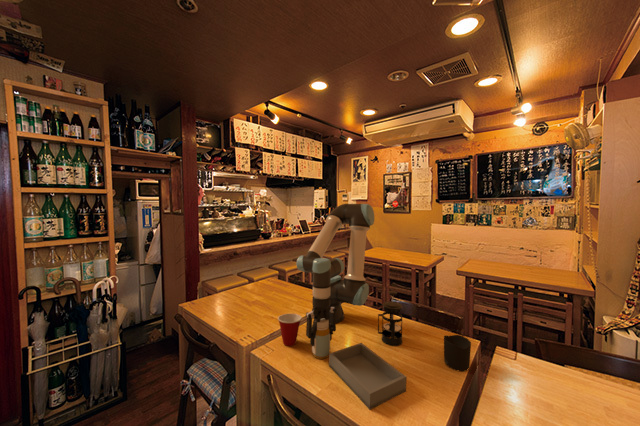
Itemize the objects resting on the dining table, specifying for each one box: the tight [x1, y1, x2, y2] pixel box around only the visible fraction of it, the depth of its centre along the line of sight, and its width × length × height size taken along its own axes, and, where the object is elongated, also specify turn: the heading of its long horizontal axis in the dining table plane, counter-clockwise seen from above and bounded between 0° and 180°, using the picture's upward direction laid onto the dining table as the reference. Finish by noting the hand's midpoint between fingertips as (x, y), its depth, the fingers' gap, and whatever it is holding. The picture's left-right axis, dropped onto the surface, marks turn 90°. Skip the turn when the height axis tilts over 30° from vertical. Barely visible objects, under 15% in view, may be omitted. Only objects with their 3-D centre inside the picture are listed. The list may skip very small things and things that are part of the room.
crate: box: [328, 342, 407, 410], centre depth 92 cm, size 16×24×5 cm, turn 29°
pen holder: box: [443, 334, 472, 372], centre depth 99 cm, size 9×9×10 cm
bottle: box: [312, 318, 331, 360], centre depth 105 cm, size 7×7×15 cm
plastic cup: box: [277, 313, 302, 347], centre depth 115 cm, size 11×11×12 cm
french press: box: [377, 290, 404, 347], centre depth 117 cm, size 12×9×23 cm
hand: (321, 350), depth 106 cm, fingers closed on bottle, 6 cm apart
